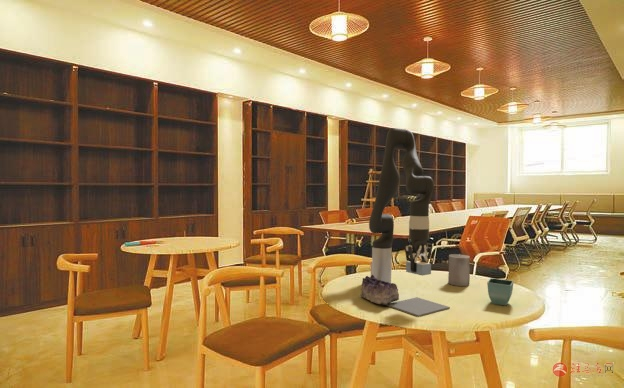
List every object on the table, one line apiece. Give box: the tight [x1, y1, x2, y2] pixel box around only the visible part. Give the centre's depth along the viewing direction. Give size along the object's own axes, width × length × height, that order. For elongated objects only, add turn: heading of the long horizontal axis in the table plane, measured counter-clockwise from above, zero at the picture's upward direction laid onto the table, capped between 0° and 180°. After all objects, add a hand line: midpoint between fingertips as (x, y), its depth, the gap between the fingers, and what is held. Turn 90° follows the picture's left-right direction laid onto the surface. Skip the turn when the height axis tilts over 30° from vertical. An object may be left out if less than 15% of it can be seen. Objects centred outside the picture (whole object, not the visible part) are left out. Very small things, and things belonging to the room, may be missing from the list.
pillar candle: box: [447, 252, 471, 287], centre depth 194 cm, size 10×10×15 cm
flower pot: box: [486, 277, 514, 306], centre depth 162 cm, size 9×9×9 cm
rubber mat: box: [385, 296, 450, 317], centre depth 156 cm, size 16×18×1 cm
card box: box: [405, 260, 432, 277], centre depth 156 cm, size 5×8×4 cm, turn 35°
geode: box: [360, 275, 400, 306], centre depth 164 cm, size 20×12×10 cm, turn 27°
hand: (418, 270), depth 156 cm, fingers closed on card box, 5 cm apart
